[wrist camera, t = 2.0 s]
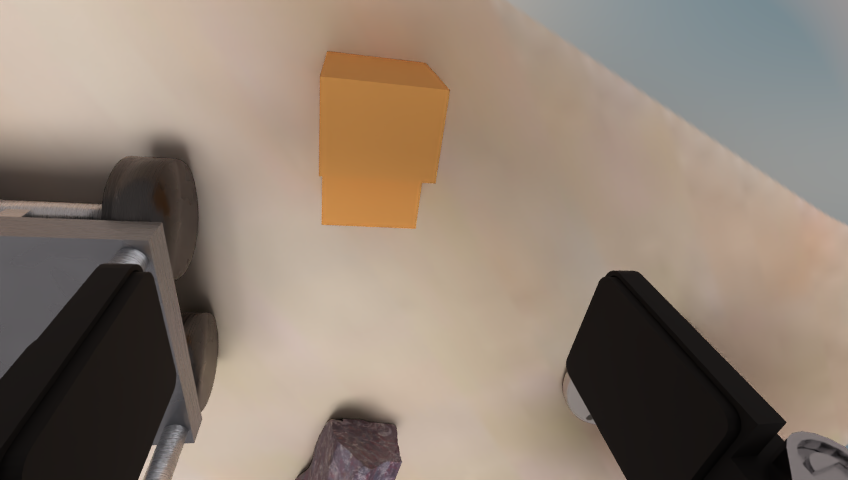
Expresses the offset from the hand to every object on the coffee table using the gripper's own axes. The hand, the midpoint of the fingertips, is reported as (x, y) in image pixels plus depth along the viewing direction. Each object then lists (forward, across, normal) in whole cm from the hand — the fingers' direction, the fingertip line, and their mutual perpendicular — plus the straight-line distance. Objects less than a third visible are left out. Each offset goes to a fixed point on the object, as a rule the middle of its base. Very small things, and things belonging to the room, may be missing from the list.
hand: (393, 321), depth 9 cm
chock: (+17, 0, +1) cm, 17 cm away
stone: (+17, +1, +31) cm, 35 cm away
